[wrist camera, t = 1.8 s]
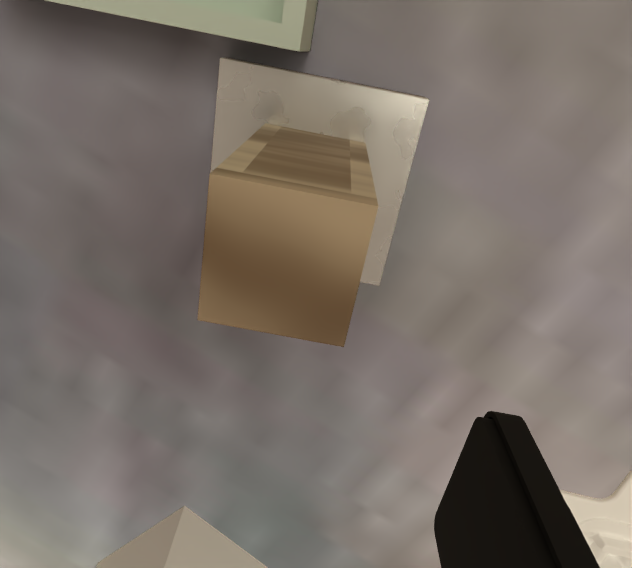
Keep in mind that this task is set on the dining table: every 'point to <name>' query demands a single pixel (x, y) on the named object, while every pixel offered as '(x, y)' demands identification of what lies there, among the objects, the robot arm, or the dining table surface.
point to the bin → (223, 17)
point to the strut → (288, 234)
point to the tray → (606, 524)
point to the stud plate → (326, 129)
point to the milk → (181, 547)
